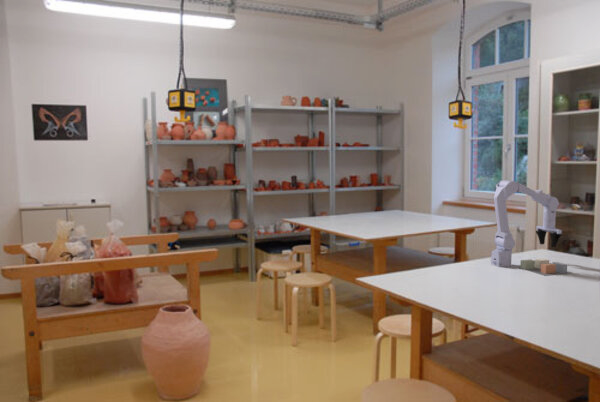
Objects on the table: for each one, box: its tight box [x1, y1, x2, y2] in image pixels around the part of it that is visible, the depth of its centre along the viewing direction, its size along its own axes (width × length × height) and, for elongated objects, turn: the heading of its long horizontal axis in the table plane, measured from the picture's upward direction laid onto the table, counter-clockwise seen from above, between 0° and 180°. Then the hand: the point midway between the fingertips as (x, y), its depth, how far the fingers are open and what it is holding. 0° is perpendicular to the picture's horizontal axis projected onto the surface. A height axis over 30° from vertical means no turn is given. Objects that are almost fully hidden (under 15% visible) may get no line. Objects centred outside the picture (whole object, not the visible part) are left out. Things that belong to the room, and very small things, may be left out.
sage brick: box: [519, 259, 535, 270], centre depth 247 cm, size 6×3×4 cm, turn 108°
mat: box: [519, 267, 571, 277], centre depth 242 cm, size 15×17×1 cm
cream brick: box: [534, 258, 550, 269], centre depth 248 cm, size 6×3×4 cm, turn 108°
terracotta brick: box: [541, 262, 556, 274], centre depth 238 cm, size 6×3×4 cm, turn 108°
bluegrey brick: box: [552, 261, 568, 273], centre depth 240 cm, size 6×3×4 cm, turn 18°
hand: (547, 245), depth 257 cm, fingers open, 7 cm apart
